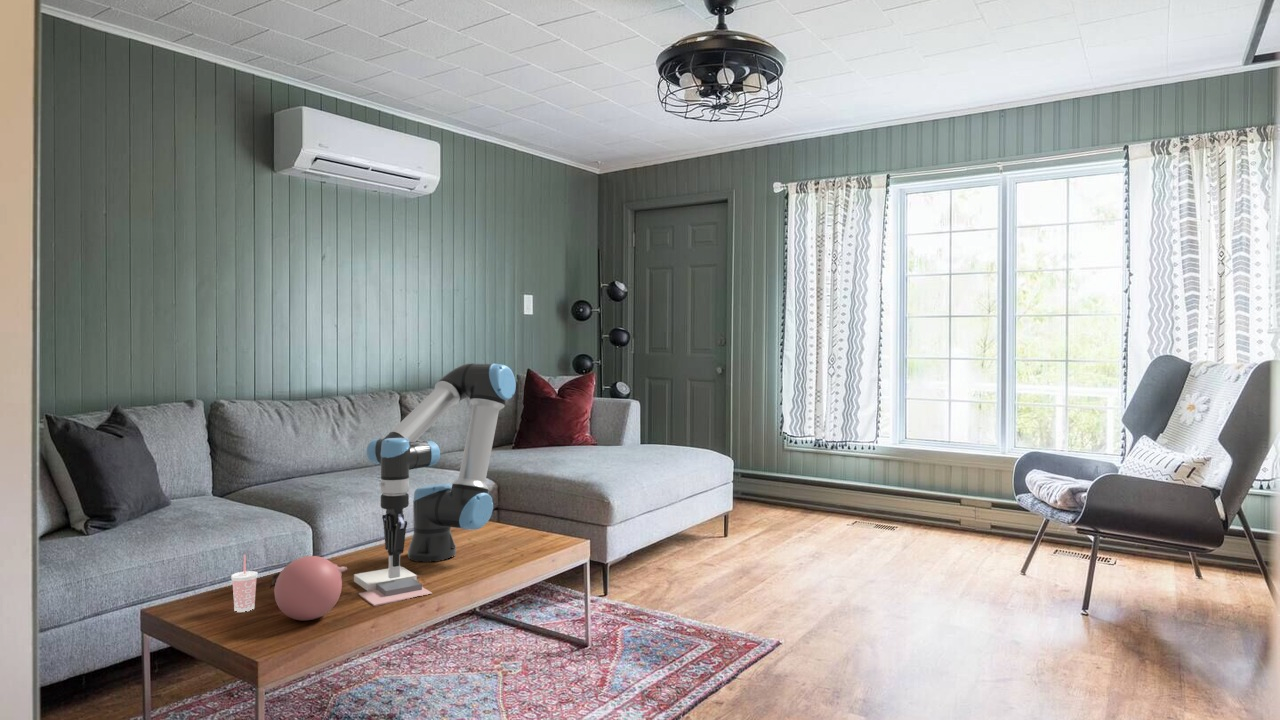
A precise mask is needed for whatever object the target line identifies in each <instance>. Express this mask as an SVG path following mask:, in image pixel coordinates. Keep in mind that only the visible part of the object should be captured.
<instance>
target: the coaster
mask: <svg viewBox="0 0 1280 720" xmlns="http://www.w3.org/2000/svg"><path fill="white" fill-rule="evenodd" d="M422 587H423V584H422V583H421V582H419V581H418V580H417V581H416V580H415V579H413V578H412V577H411V578H405V579H399V580H394V581H388V582H383V583H377V584H376V589H377V590H378V591H380V592H381V593H382V594H384V595H385V596H391V595H396V594H402V593H407V592H412V591H417V590H422Z"/></svg>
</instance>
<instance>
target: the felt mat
mask: <svg viewBox="0 0 1280 720" xmlns="http://www.w3.org/2000/svg"><path fill="white" fill-rule="evenodd" d="M428 594H432V595H433V592H431V591H430V590H428V589H427V588H424V586H422V590H417V591H412V592H407V593H402V594H396V595H391V596H385V595H384V594H382V593H381V592H380V591H378V590H373V591H364V592H359V593H358V596H360V598H362V599H364V600H365V601H366V602H367V603H369V604H370V605H372V606H373V607H378V606H382V605H388V604H392V603H397V602H402V600H403V601H406V600H405V599H407V600H411V599H410V598H412V599H414V598H413V597H417V596H422V597H424V596H423V595H427V596H429V595H428ZM417 598H418V597H417Z"/></svg>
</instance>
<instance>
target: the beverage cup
mask: <svg viewBox="0 0 1280 720" xmlns="http://www.w3.org/2000/svg"><path fill="white" fill-rule="evenodd" d="M246 556H247V555H246V554H243V571H239V572H235V573H233V574H231V577H230V579H231V581H232V591H233V609H234V612H235V611H237V612H236V613H246V612H245V611H247V612H250V610H251V611H253V610H255V604H256V603H255V602H256V591H257V578H258V574H259V573H258V571H253V570H248V571H247V569H246V568H247V566H246V563H247V562H246V561H247V558H246ZM252 609H253V610H252Z"/></svg>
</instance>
